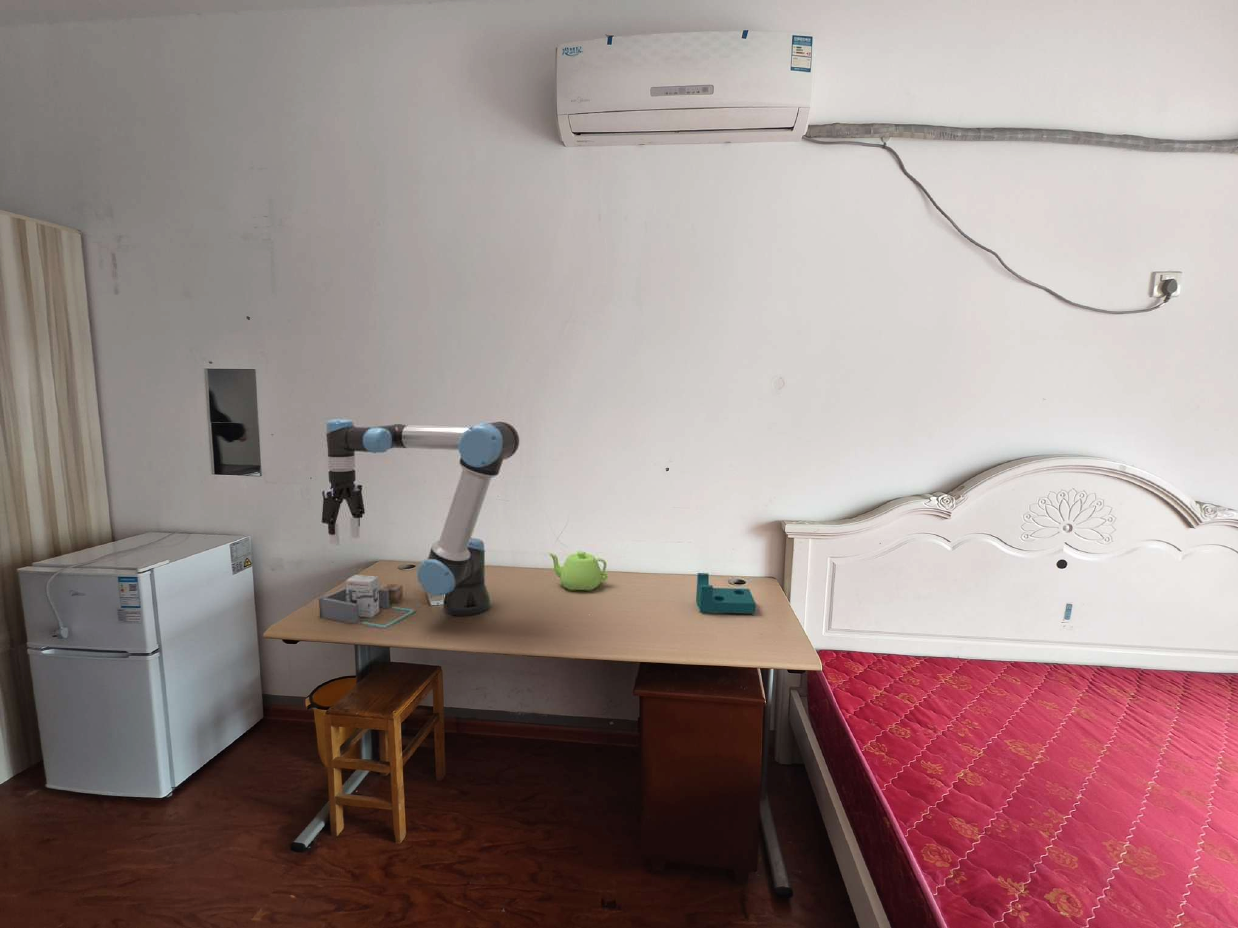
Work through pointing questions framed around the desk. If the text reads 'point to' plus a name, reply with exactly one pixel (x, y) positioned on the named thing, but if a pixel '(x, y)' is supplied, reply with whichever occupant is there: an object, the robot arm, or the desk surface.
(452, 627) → the desk surface
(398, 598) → the walnut block
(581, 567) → the teapot
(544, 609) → the desk surface
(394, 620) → the frame
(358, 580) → the ink box
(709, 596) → the teal l-shaped bracket
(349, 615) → the cubby
